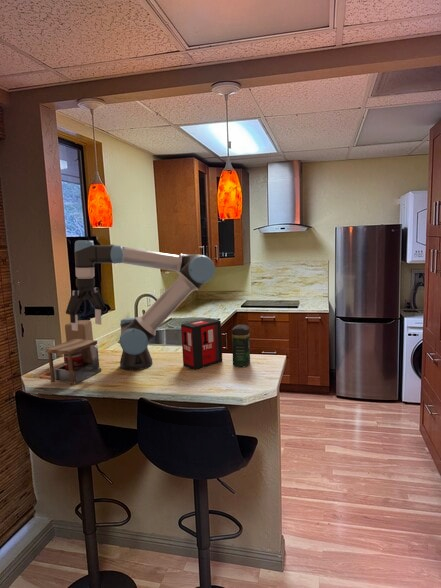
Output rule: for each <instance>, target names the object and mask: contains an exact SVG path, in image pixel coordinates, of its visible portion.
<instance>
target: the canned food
mask: <svg viewBox="0 0 441 588" xmlns="http://www.w3.org/2000/svg"><path fill="white" fill-rule="evenodd" d="M71 355H72V365H73V371H76V370H78V369H80V368H82V367H84V362H83V353H82V352H80V351H78V352H76V353H73V354H71ZM63 363H64V364H63V365H65V370H69V365H68V356H67V355H66V354H63Z"/></svg>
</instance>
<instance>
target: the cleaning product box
mask: <svg viewBox="0 0 441 588" xmlns="http://www.w3.org/2000/svg"><path fill="white" fill-rule="evenodd" d="M180 331H181V345H182V346H181V348H182V350H181V351H182V362H183V363H182V365H183V367H185V368H187V369H190V370H193V371H197V370H200V369H204V368H207V367H211V366H214V365H216V364H219V363H223V344H222V343H223V342H222V341H223V339H222V321H221V320H218V319H214V318H209V317H207V318H204V319H200V320H195V321H190V322H186V323H181V324H180Z"/></svg>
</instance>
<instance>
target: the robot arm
mask: <svg viewBox="0 0 441 588" xmlns="http://www.w3.org/2000/svg"><path fill="white" fill-rule="evenodd" d="M73 253H74V263H75V269H74V270H75V277H76V278H75V286H76V288H77V290H74V289H73V290H71V291H70V299H69V301H68V303H67V304H68V305H67V307H66V310H65V314H66V315H69V319H70V322H71V323H72V330H74V331H78V319H79V318H78V314H77V313H78V311H79V309H80V307H81V306H82V303H84V301H87V300H89V301H90V302H91V303H92V305H93V306H94V307H95V309H94V317H95V319H94V321H95V322H94V323H95V325H102V316H103V315H102V314H103V313H102V310H105V309H104V308H105V307H106V304H105V301H104V299H103V297H102V294H101V291H100V287H96V286H95V285H96V279H95V276H96V275H95V274H96V273H95V264H124V265H125V264H126V265H130V266H131V265H133V266H138V267H145V268H150V269H151V268H152V269H158V270H159V269H160V270H164V271H172V272H176V274H177V275H178V277H177V278H176V280H175V281H174V282H173V283H172V284H171V285H169V287H168V288H167V289H166V290H165V291H164V292H163V293H162V295H160V296H159V297H158V298H157V300H155V302H153V304H152V305H151V306H150V307H149V308H148V309H147V310H146V311H145V312H144V313H143V314H142V316H136V317H127V318H122V319H121V320H120V324H119V325H120V336H119V345H120V347H121V350H122V352H121V353H122V354H121V356H120V362H119V367H120V369H121V370H125V371H140V370H144V369H147V368H150V367H151V366H153V358H152V355H151V353H150V351H149V347H148V345H149V343H150V342H151V341H152V340H153V339H154V338H155V337H156V335H157V334H156V333H157V332H156V330H157V329H158V328H159V327H160V326H161V325H162V324H163V323H164V322H165V321H166V320H167V319H168V318H169V317H170V316H171V314H173V313H174V311H175V310H176V309H177V308H178V307H179V306H180V305H181V304H182V303H183V302H184V300H186V299H187V297H189V295H191V293H192V292H194V291H199V290H200V289H201V288H202V286H204V284H206V283H208V282H210V281H211V280H212V279H213V277H214V276H215V273H216V267H215V263H214V262H213V260H212V259H211V258H210V257H209V256H208V255H207V256H206V254H205V255H204V254H197V253H196V254H188V253H187V254H185V253H180V254H172V253H165V252H160V251H159V252H158V251H153V250H147V249H140V248H134V247H127V246H122V245H117V244H107V245H106V244H105V245H103V244H101V245H99V244H95V243H94V240H82V239H81V240H79V239H78V240H76V241H75V242H74V252H73ZM70 322H69V323H70Z"/></svg>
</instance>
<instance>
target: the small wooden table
mask: <svg viewBox="0 0 441 588" xmlns="http://www.w3.org/2000/svg"><path fill="white" fill-rule="evenodd" d="M92 345H98V340H94V339H93V340H83V339H73V340H70V341H67V342H66V341H65V342H61V343H59V344H56V345H53V346H50V347H47V348H46V349H45V352H46V353H47V355H48V356H47V357H48V363H49V371H50V375H51V379H50V383H52V384H53V383H55V382H56V380H55V376H54V369H55V368H54V357H53V354H55V355H56V354H58V355H64V354H66V355H67V356H68V365H69V375H70V382H69V385H70V386H74V385H75V383H74V375H73V365H72V355H71V354H73V353H76V352H78V351H80V352H82V353H83V362H90V363H92V361H91V350H90V346H92Z"/></svg>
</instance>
